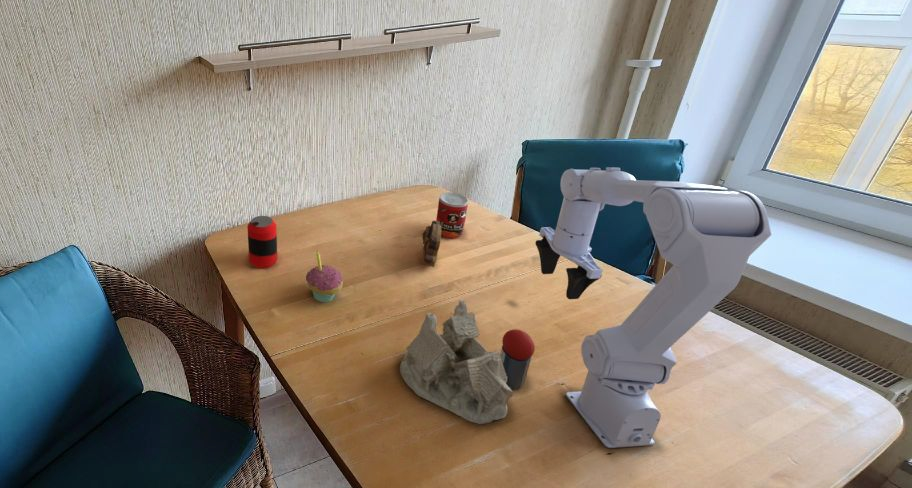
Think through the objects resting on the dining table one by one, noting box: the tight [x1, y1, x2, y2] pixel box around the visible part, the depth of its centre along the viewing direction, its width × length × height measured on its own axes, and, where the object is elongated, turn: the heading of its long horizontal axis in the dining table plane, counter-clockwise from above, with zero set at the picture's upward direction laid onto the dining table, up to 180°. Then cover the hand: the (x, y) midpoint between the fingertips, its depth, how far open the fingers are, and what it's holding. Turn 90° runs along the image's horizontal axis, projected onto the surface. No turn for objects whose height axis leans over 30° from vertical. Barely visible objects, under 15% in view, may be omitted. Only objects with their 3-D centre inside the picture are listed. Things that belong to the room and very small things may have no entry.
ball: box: [501, 328, 536, 360], centre depth 76 cm, size 5×5×5 cm
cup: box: [499, 344, 532, 390], centre depth 78 cm, size 5×5×6 cm
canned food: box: [435, 192, 469, 239], centre depth 123 cm, size 8×8×11 cm
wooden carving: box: [421, 220, 442, 268], centre depth 112 cm, size 16×5×10 cm, turn 165°
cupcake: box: [305, 250, 344, 303], centre depth 99 cm, size 9×8×12 cm
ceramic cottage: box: [399, 300, 514, 425], centre depth 75 cm, size 16×16×15 cm
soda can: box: [246, 215, 278, 269], centre depth 112 cm, size 8×8×12 cm
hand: (559, 285), depth 87 cm, fingers open, 7 cm apart
